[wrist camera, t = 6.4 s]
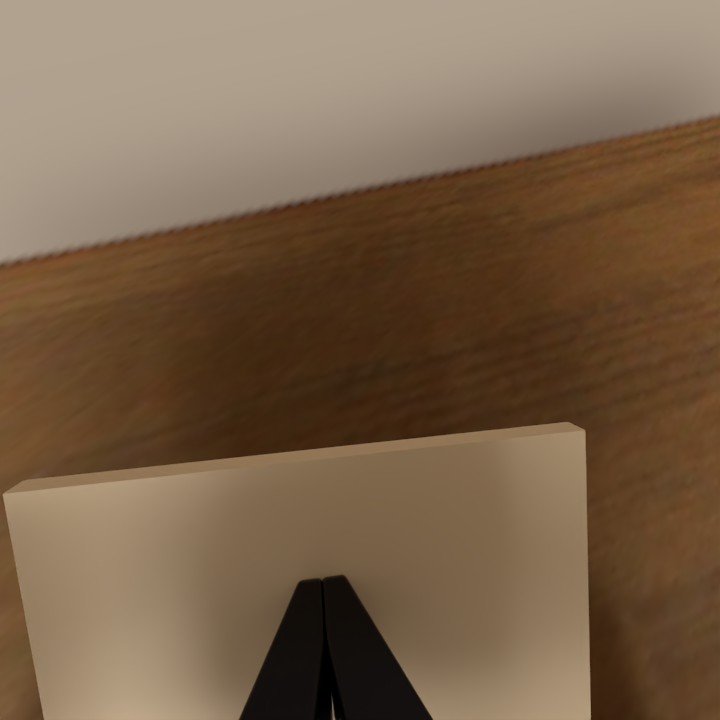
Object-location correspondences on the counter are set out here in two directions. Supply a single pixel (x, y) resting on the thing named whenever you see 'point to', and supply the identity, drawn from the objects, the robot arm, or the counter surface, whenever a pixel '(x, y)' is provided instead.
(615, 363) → the counter surface
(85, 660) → the far flap
